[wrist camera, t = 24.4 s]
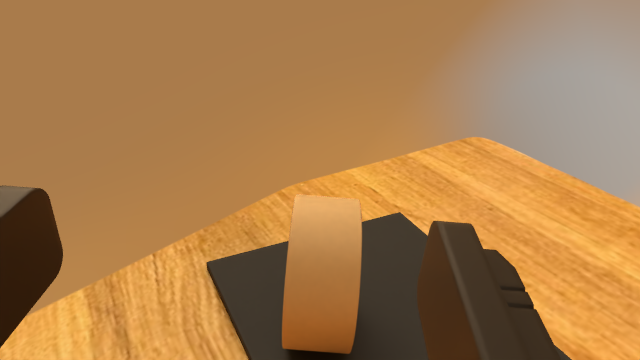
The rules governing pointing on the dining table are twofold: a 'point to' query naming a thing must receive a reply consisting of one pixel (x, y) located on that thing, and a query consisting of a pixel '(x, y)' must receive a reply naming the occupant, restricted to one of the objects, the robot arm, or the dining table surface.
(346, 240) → the tape roll
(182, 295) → the dining table surface
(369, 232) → the mat
